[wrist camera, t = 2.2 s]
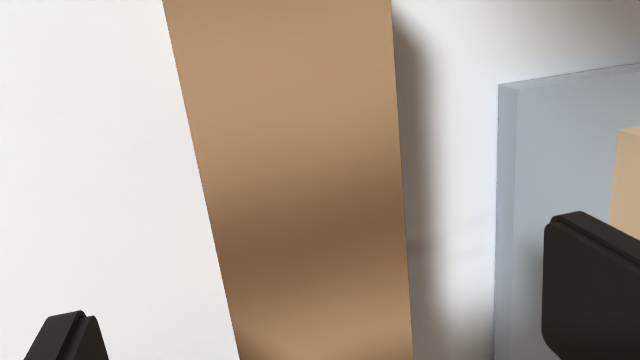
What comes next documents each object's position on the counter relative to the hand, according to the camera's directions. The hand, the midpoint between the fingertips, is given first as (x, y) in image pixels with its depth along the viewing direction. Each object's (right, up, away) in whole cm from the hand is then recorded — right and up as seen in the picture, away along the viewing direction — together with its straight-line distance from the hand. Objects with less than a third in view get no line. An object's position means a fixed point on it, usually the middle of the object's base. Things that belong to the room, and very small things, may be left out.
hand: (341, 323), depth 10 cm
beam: (-2, +4, +7) cm, 8 cm away
